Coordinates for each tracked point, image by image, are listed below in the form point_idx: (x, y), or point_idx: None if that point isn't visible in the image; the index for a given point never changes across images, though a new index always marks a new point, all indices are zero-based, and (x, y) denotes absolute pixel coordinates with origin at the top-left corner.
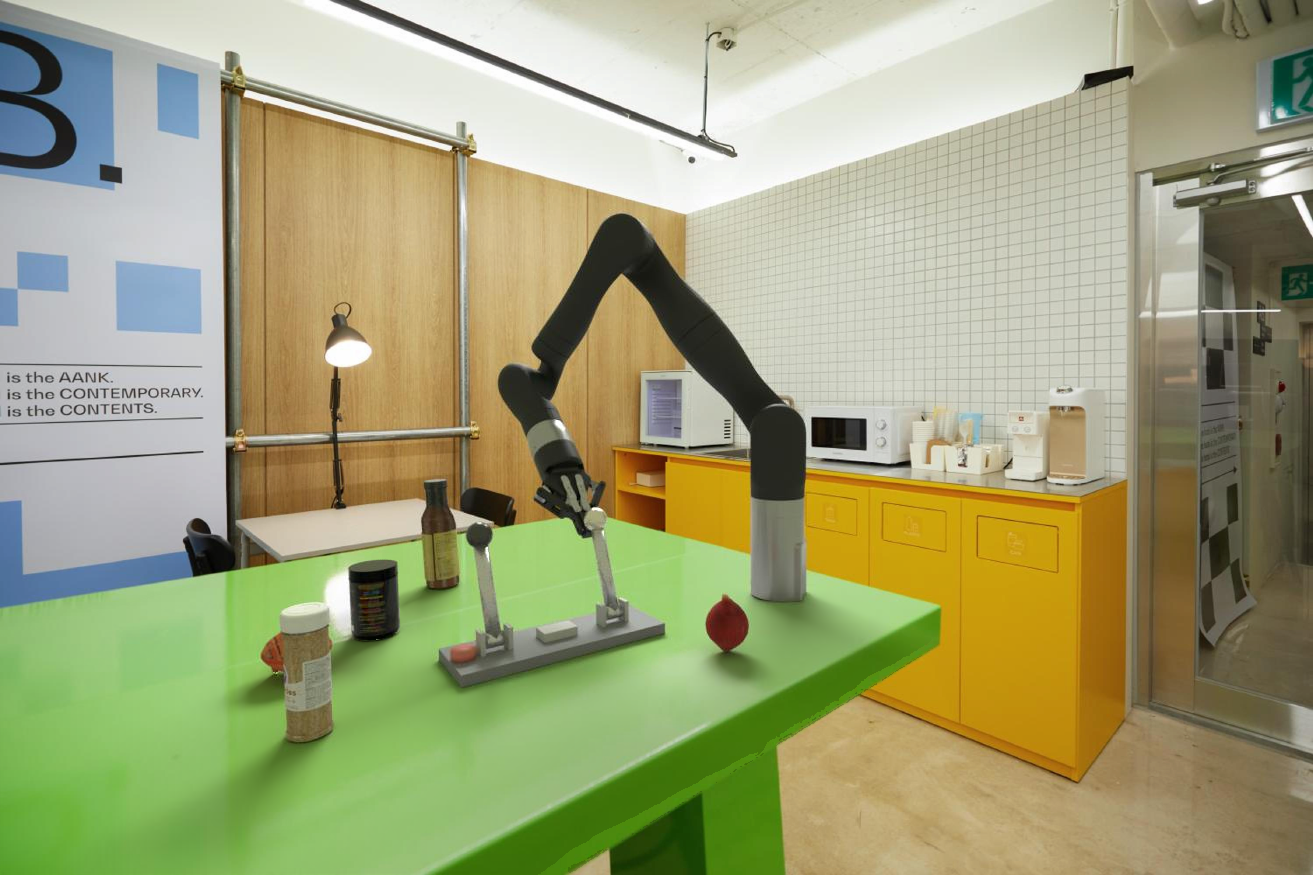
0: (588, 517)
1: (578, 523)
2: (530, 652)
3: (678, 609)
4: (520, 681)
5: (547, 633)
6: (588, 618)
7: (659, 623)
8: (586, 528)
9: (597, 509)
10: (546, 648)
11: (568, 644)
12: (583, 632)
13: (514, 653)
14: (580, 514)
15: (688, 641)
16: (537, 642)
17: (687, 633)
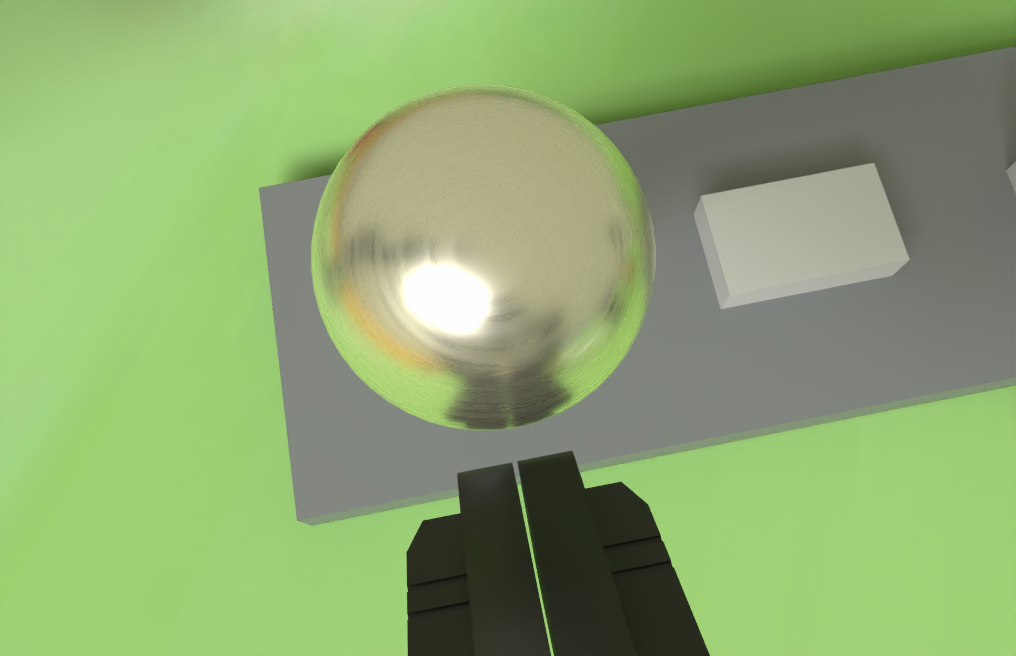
0: (619, 151)
1: (662, 561)
2: (932, 108)
3: (37, 481)
4: (959, 12)
5: (860, 166)
6: (587, 401)
7: (283, 194)
8: (568, 467)
9: (464, 115)
10: (859, 123)
11: (758, 125)
12: (661, 229)
13: (1002, 126)
14: (624, 638)
15: (231, 95)
16: (892, 200)
17: (186, 170)
